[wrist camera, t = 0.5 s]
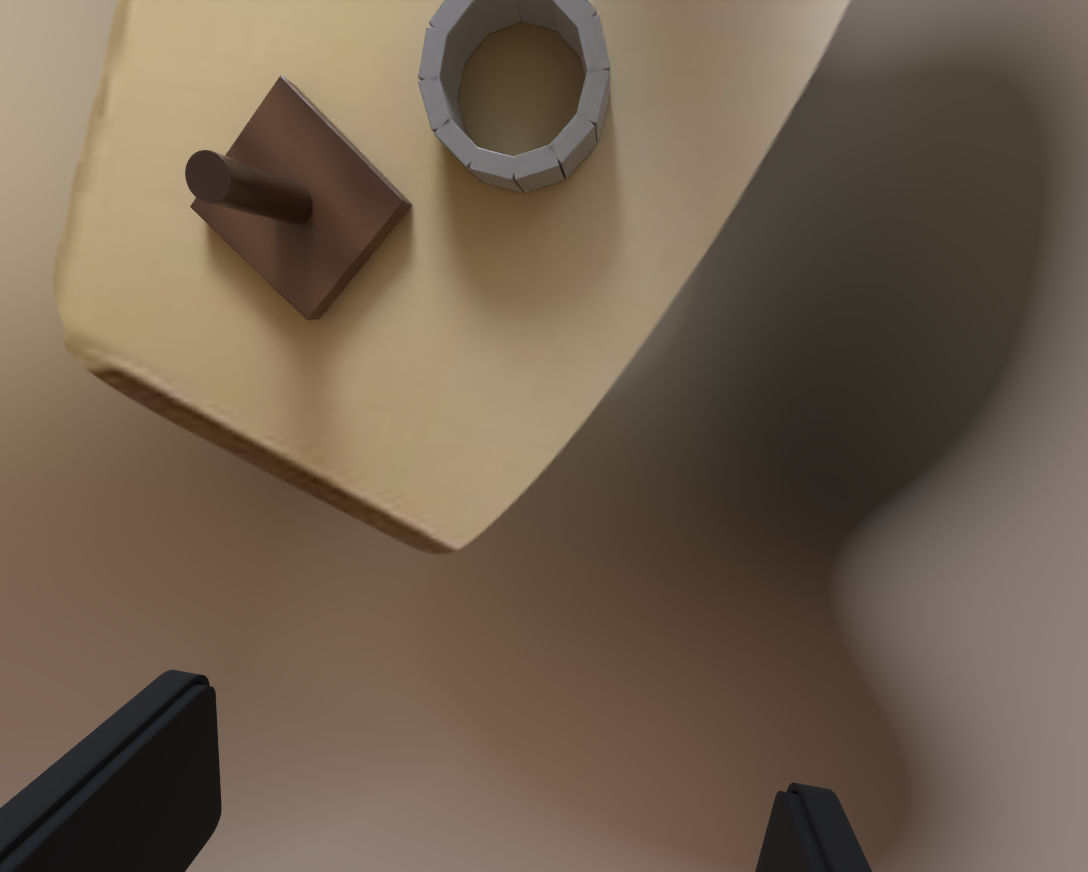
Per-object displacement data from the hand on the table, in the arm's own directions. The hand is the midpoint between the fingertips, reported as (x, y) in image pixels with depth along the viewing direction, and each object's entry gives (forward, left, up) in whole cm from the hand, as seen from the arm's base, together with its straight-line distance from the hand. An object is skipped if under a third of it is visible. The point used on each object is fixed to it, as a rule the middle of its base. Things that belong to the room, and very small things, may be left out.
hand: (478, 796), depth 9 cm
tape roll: (-11, -16, -28) cm, 35 cm away
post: (+3, -22, -28) cm, 36 cm away
